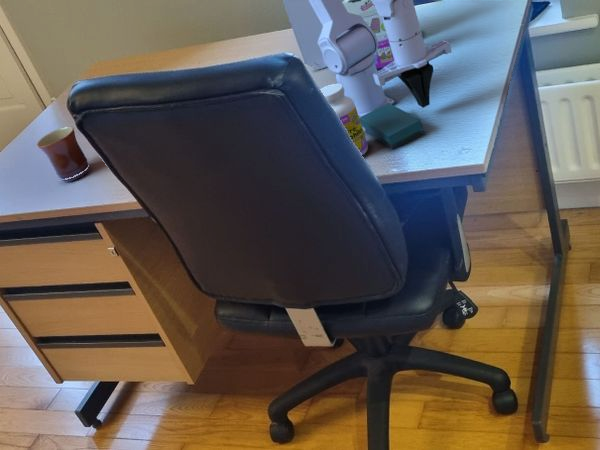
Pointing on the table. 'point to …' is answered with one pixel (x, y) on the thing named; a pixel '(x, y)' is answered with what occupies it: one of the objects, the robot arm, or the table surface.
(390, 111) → the teal flat panel
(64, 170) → the mug
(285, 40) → the table surface
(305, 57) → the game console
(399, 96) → the table surface
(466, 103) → the table surface
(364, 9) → the candy bar box
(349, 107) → the supplement bottle
